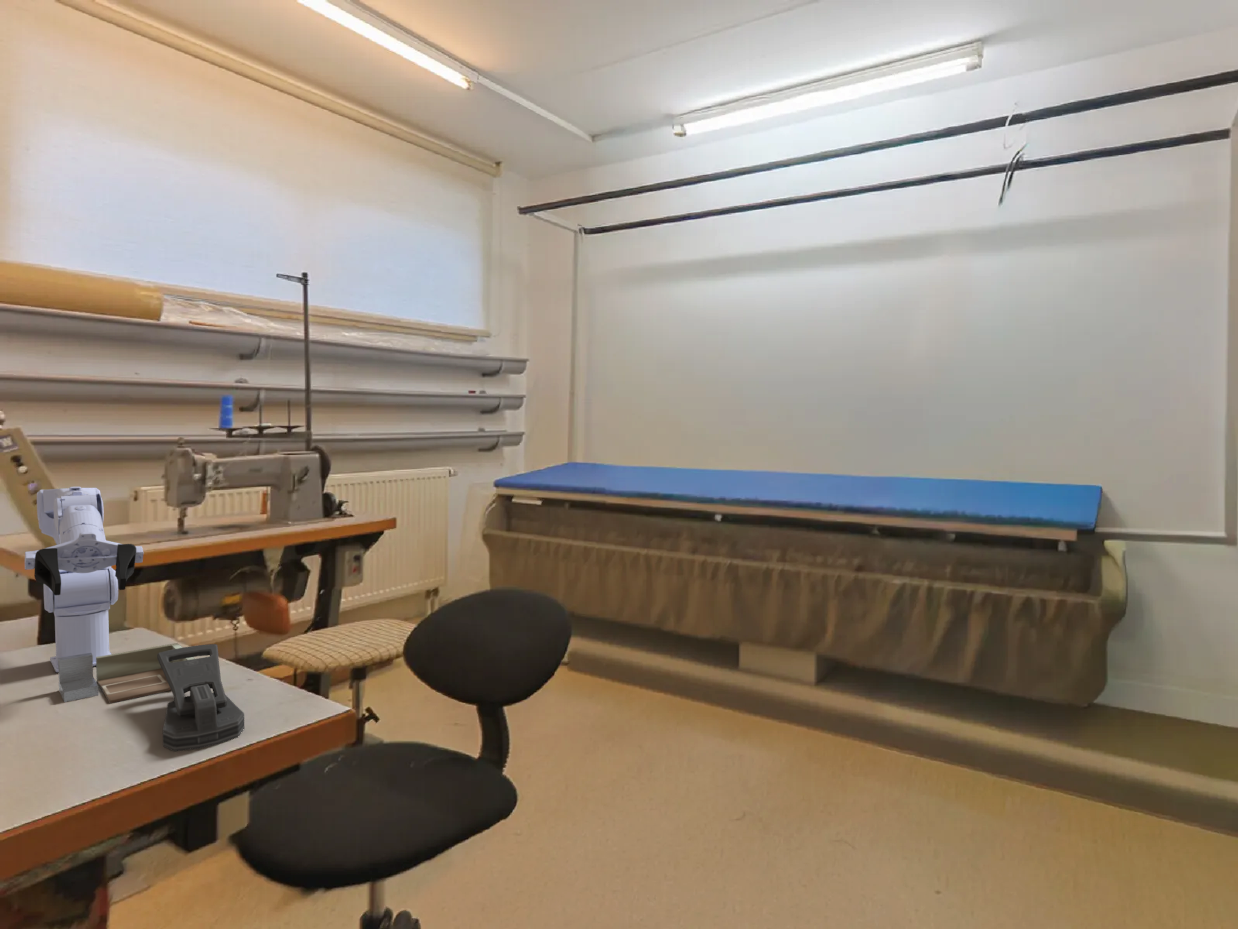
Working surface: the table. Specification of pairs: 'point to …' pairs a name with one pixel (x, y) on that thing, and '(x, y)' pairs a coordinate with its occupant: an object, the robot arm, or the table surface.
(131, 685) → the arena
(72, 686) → the angle bracket
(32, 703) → the table surface
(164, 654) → the zipper pull
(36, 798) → the table surface
